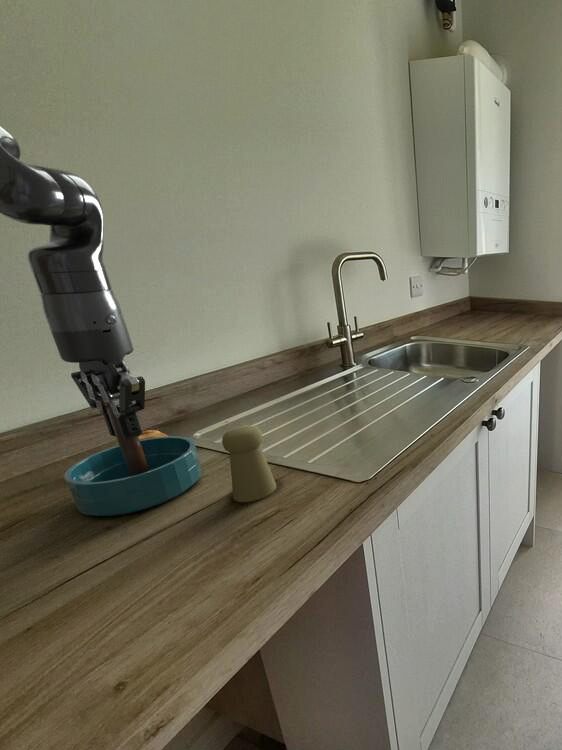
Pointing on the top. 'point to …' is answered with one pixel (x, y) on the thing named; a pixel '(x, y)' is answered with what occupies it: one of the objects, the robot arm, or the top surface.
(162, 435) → the pastry
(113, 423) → the stirring stick
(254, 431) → the cork
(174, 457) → the bowl
